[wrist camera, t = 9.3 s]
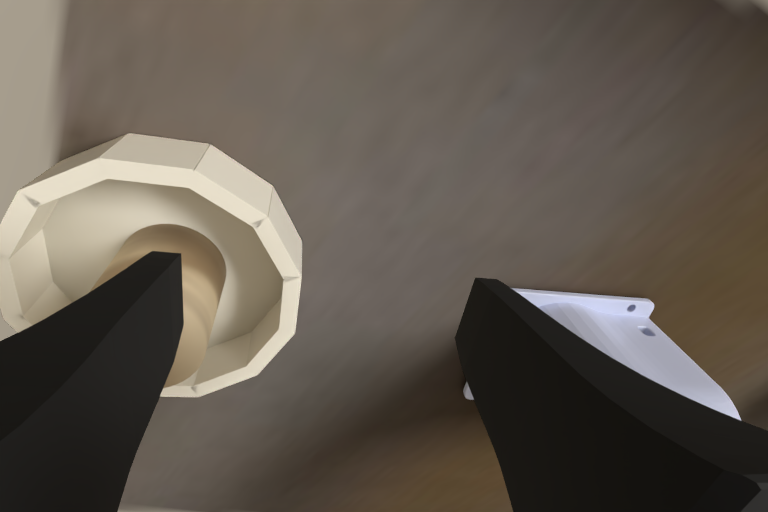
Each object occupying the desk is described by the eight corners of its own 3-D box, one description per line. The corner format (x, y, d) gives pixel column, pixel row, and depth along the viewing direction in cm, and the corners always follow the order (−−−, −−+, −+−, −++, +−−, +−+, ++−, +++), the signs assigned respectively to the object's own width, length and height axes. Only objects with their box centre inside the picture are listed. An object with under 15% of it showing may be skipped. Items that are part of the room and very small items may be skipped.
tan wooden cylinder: (224, 226, 19) (201, 293, 15) (228, 309, 21) (209, 389, 17) (111, 220, 18) (52, 290, 14) (126, 308, 20) (80, 391, 16)
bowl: (311, 157, 19) (312, 183, 16) (289, 355, 24) (287, 398, 22) (8, 116, 16) (-47, 140, 14) (57, 346, 22) (23, 394, 19)
